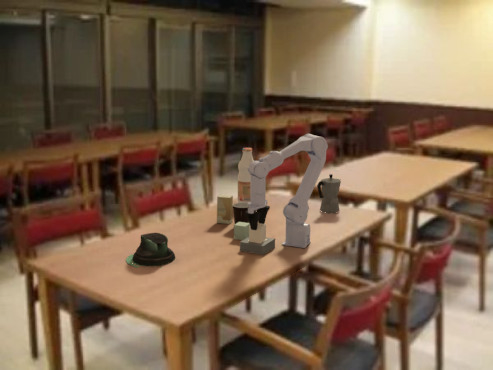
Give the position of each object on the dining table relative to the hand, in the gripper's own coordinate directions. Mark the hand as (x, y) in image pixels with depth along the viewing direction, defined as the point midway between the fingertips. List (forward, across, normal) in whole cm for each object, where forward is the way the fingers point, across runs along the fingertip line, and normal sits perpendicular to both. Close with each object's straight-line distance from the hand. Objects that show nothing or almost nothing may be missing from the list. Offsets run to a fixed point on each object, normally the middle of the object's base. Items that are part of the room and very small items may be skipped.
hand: (257, 226), depth 225 cm
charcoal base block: (+9, 0, 0) cm, 9 cm away
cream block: (+5, 0, 0) cm, 5 cm away
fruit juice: (+9, -61, -31) cm, 69 cm away
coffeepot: (+9, -64, +10) cm, 65 cm away
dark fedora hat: (+9, +26, -31) cm, 41 cm away
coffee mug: (+9, -22, -17) cm, 29 cm away
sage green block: (+9, -10, -11) cm, 17 cm away
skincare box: (+9, -27, -27) cm, 39 cm away
